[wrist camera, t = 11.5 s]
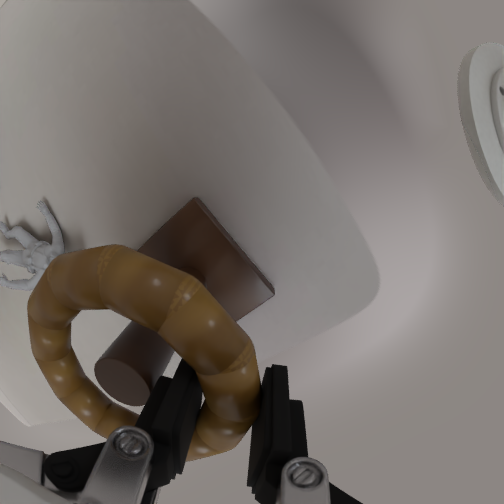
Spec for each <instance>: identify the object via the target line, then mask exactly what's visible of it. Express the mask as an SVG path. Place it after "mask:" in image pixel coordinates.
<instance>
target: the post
mask: <svg viewBox="0 0 504 504" xmlns="http://www.w3.org/2000/svg"><path fill="white" fill-rule="evenodd" d="M138 252H140V253H142V254H144V255H146V256H149V257H151V258H153V259H156V260H158V261H160V262H162V263H165V264H167V265H169V266H172V267H174V268H176V269H179V270H181V271H183V272H186V273H188V274H190V275H192V276H194V277H195V278H197V279H198V280H199V281H200V282H201V283H202V284H203V285H204V287H205V288H206V289H207V290H208V291H209V292H210V293H211V295H212V296H213V297H214V298H215V299H216V300H217V301H218V303H219V304H220V305H221V306H222V307H223V308H224V309H225V310H226V312H227V313H228V314H229V315H230V316H231V317H232V318H233V319H234V320H235V322H236V321H238V320H239V319H241V318H242V317H244V316H245V315H247V314H248V313H249V312H251V311H252V310H254V309H255V308H257V307H258V306H260V305H261V304H263V303H264V302H265V301H267V300H268V299H270V298H271V297H273V296H274V295H275V290H274V288H273V287H272V285H271V284H270V283H269V282H268V281H267V280H266V278H265V277H264V276H263V275H262V274H261V272H260V271H259V270H258V269H257V268H256V266H255V265H254V264H253V263H252V262H251V260H250V259H249V258H248V257H247V256H246V254H245V253H244V252H243V251H242V250H241V248H240V247H239V246H238V245H237V244H236V242H235V241H234V240H233V239H232V238H231V236H230V235H229V234H228V233H227V232H226V230H225V229H224V228H223V227H222V226H221V224H220V223H219V222H218V221H217V220H216V218H215V217H214V216H213V215H212V214H211V212H210V211H209V210H208V209H207V208H206V206H205V205H204V204H203V203H202V202H201V200H200V199H199V198H198V197H196V198H193V199H192V200H191V201H190V202H188V203H187V204H186V205H185V206H184V207H183V208H182V209H181V210H180V211H179V212H177V213H176V214H175V215H174V216H173V217H172V218H171V219H170V220H169V221H168V222H167V223H166V224H164V225H163V226H162V227H161V228H160V229H159V230H158V231H157V232H156V233H155V234H154V235H153V236H152V237H151V238H150V239H149V240H148V241H147V242H146V243H145V244H144V245H143V246H142V247H141V248H140V249H139V250H138ZM174 352H175V350H174V349H173V348H172V347H171V346H170V345H169V344H168V343H167V342H166V341H165V340H164V339H163V338H162V337H161V336H160V335H159V334H158V333H157V332H155V331H153V330H151V329H149V328H147V327H144V326H142V325H140V324H138V323H136V322H134V321H131V322H130V323H129V325H128V326H127V327H126V328H125V329H124V330H123V331H122V333H121V334H120V335H119V336H118V337H117V338H116V340H115V341H114V342H113V343H112V344H111V345H110V347H109V348H108V349H107V350H106V351H105V353H104V354H103V355H102V356H101V357H100V358H99V360H98V361H97V362H96V364H95V368H94V372H95V376H96V379H97V381H98V383H99V384H100V386H101V387H102V388H103V389H104V390H105V391H106V392H107V393H108V394H109V395H110V396H111V397H113V398H114V399H116V400H117V401H119V402H121V403H124V404H127V405H130V406H142V405H145V404H146V402H147V400H148V398H149V396H150V394H151V392H152V390H153V388H154V386H155V384H156V382H157V380H158V378H159V377H160V376H162V375H163V373H164V371H165V369H166V367H167V365H168V363H169V361H170V359H171V357H172V355H173V353H174Z"/></svg>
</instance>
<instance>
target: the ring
mask: <svg viewBox="0 0 504 504" xmlns="http://www.w3.org/2000/svg"><path fill="white" fill-rule="evenodd" d="M98 309H111V310H112V311H114V312H116V313H118V314H120V315H122V316H124V317H126V318H128V319H130V320H132V321H134V322H136V323H138V324H140V325H142V326H144V327H147V328H149V329H151V330H153V331H155V332H157V333H158V334H159V335H160V336H161V337H162V338H163V339H164V340H165V341H166V342H167V343H168V344H169V345H170V346H171V347H172V348H173V349H174V350H175V351H176V352H177V353H178V354H179V355H180V356H181V357H182V358H183V359H184V360H185V361H186V362H187V363H188V364H189V365H190V366H191V367H192V368H193V369H194V370H195V371H196V374H197V377H198V380H199V383H200V386H201V389H202V392H203V394H204V397H205V400H204V403H203V405H202V407H201V409H200V411H199V413H198V416H197V420H196V425H195V429H194V433H193V436H192V440H191V443H190V447H189V450H188V454H187V457H186V461H185V462H187V461H193V460H197V459H201V458H205V457H209V456H213V455H216V454H220V453H223V452H227V451H229V450H231V449H233V448H234V447H236V446H237V444H238V443H239V442H240V441H241V439H242V438H243V436H244V435H245V434H246V433H247V431H248V430H249V428H250V427H251V426H252V425H253V423H254V422H255V420H256V419H257V417H258V415H259V412H260V408H261V402H262V395H263V392H262V387H261V381H260V376H259V370H258V365H257V359H256V354H255V349H254V345H253V343H252V341H251V339H250V337H249V336H248V335H247V334H246V332H245V331H244V330H243V329H242V328H241V327H240V326H239V325H238V324H237V323H236V322H235V320H234V319H233V318H232V317H231V316H230V315H229V314H228V313H227V312H226V310H225V309H224V308H223V307H222V306H221V305H220V304H219V303H218V301H217V300H216V299H215V298H214V297H213V296H212V295H211V293H210V292H209V291H208V290H207V289H206V288H205V287H204V285H203V284H202V283H201V282H200V281H199V280H198V279H197V278H195V277H194V276H192V275H190V274H188V273H186V272H183V271H181V270H179V269H176V268H174V267H172V266H169V265H167V264H165V263H162V262H160V261H158V260H156V259H153V258H151V257H149V256H146V255H144V254H142V253H140V252H138V251H135V250H133V249H131V248H129V247H126V246H123V245H117V244H113V245H106V246H101V247H95V248H90V249H84V250H79V251H74V252H68V253H64V254H61V255H59V256H57V257H56V258H54V259H53V260H52V261H51V262H50V264H49V265H48V267H47V268H46V270H45V272H44V273H43V275H42V276H41V278H40V280H39V281H38V283H37V285H36V286H35V288H34V290H33V292H32V293H31V295H30V297H29V300H28V306H27V310H28V323H29V333H30V341H31V348H32V353H33V355H34V357H35V359H36V361H37V363H38V365H39V367H40V369H41V371H42V373H43V374H44V376H45V378H46V380H47V382H48V383H49V385H50V387H51V388H52V390H53V392H54V393H55V395H56V396H57V398H58V399H59V400H60V401H61V402H62V403H63V404H64V405H65V406H66V407H67V408H68V409H69V410H70V411H71V412H72V413H73V414H75V415H76V416H77V417H78V418H79V419H80V420H81V421H82V422H83V423H84V424H85V425H87V426H88V427H89V428H90V429H91V430H92V431H94V432H95V433H97V434H99V435H101V436H102V437H104V438H106V439H108V437H109V435H110V434H111V432H112V431H113V430H115V429H116V428H118V427H121V426H130V425H131V426H135V424H136V422H137V420H138V418H139V416H140V415H139V414H136V413H134V412H132V411H130V410H128V409H126V408H124V407H122V406H120V405H118V404H116V403H115V402H113V401H112V400H110V399H109V398H108V397H107V396H106V395H105V394H104V393H103V392H102V391H101V390H100V389H99V388H98V387H97V386H96V385H95V384H94V383H93V382H92V381H91V380H90V379H89V378H88V377H87V376H86V375H85V373H84V371H83V369H82V367H81V365H80V363H79V361H78V359H77V357H76V355H75V352H74V350H73V348H72V346H71V321H72V320H73V319H74V318H75V317H76V316H77V315H78V313H79V312H80V311H81V310H98Z"/></svg>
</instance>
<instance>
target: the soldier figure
mask: <svg viewBox="0 0 504 504" xmlns="http://www.w3.org/2000/svg"><path fill="white" fill-rule="evenodd" d="M39 203H40V204H38V203H37V205H38V206H39V207H40V208H39V207H38V206H37V208H38V209H39V210H40V211H41V212H42V213H43V214H44V215H45V217H46V218H45V219H46V221H47V224H48V226H49V228H50V232H51V234H52V236H53V238H52V245H50V244H49V243H48V242H46V241H42V240H41V241H38V240H37V239H36V238H34V237H33V236H32V235H31V234H30V233H29V232H27V231H25V230H23V229H22V227H21V226H20V227H19V226H14V227H13V229H11V230H8V228H7V226H6V224H4V223H3V222H0V230H1V231H2V232H3V234H4V235H5V237H6V239H11V238H16V239H17V240H18V241H19V242H20V243H21V244H22V245H23V246H24V248H25V249H24V250H20V251H13V250H5V251H2V252H0V260H1V261H3V262H6V263H7V264H14V265H17V266H21V267H26V268H27V270H28V272H30V273H36V272H37V273H36V274H35V275H34V276H33V277H32V278H31V279H29V280H28V279H22V280H12V281H9V280H8V279H7V277H6V276H5V275H4V274H3V273H2V274H3V276H4V277H3V278H1V277H0V285H1V286H6V287H9V288H11V289H18V290H33V289H34V288H35V286H36V285H37V283H38V281H39V280H40V278H41V276H42V275H43V273H44V272H45V270H46V268H47V267H48V265H49V264H50V262H51V261H52V260H53V259H54V258H56V257H57V256H59V255H61V254H64V251H65V248H64V243H63V238H62V233H61V230H60V228H59V226H58V224H57V222H56V220H55V219H54V217H53V216H52V213H50V211H49V210H48V208H47V206H46V205H45V204H44V202H42V201H40V202H39ZM35 271H36V272H35Z"/></svg>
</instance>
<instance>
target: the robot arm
mask: <svg viewBox="0 0 504 504" xmlns="http://www.w3.org/2000/svg"><path fill="white" fill-rule="evenodd" d="M491 103H492V112H493V118H494V123H495V127H496V131H497V135H498V138H499V141H500V144H501V147H502V149H503V152H504V68H501V69H499V70H498V71H497V72H496V74H495V75H494V77H493V81H492V86H491ZM261 387H262V392H263V395H262V402H261V408H260V412H259V415H258V417H257V419H256V420H255V422H254V423H253V425H252V435H251V446H250V457H249V469H248V478H247V486H249V487H252V494H255V499H256V500H257V501H258V502H259V503H260V504H363V503H361V502H359V501H357V500H356V499H354V498H353V497H351V496H349V495H348V494H346V493H345V492H343V491H342V490H340V489H339V488H337V487H335V486H334V485H333V484H331V483H330V482H329V480H328V473H327V470H326V468H325V467H324V465H323V464H322V463H320V462H319V461H317V460H315V459H312V458H309V457H308V451H307V439H306V429H305V420H304V410H303V403H302V401H300V400H290V399H289V385H288V370H287V366H282V365H274V364H272V367H271V368H270V367H266V370H265V374H264V377H263V381H262V385H261ZM201 403H202V389H201V386H200V383H199V380H198V377H197V374H196V371H195V370H194V369H193V368H192V367H191V366H190V365H189V364H188V363H187V362H186V361H185V360H184V359H183V358H182V359H181V361H180V363H179V366H178V368H177V370H176V372H175V374H174V377H173V379H172V378H168V377H165V376H160V377H159V378H158V380H157V382H156V384H155V386H154V388H153V390H152V392H151V394H150V396H149V398H148V400H147V402H146V404H145V406H144V408H143V410H142V412H141V414H140V416H139V418H138V420H137V422H136V424H135V426H131V425H130V426H121V427H118V428H116V429H115V430H113V431H112V432H111V434H110V435H109V437H108V439H107V441H106V442H103V443H99V444H95V445H91V446H86V447H81V448H76V449H71V450H66V451H59V452H55V453H52V454H51V455H48V454H45V453H44V452H43V451H38V450H34V449H30V448H25V447H22V446H17V445H14V444H10V443H7V442H4V441H0V504H157V501H158V497H159V493H160V490H161V486H164V485H167V484H169V483H170V480H171V479H175V476H176V473H177V474H182V472H183V468H184V465H185V461H186V457H187V454H188V450H189V447H190V443H191V440H192V436H193V433H194V429H195V425H196V420H197V416H198V413H199V411H200V408H201Z"/></svg>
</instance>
